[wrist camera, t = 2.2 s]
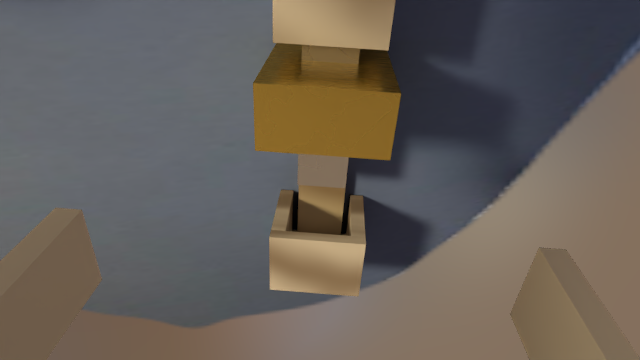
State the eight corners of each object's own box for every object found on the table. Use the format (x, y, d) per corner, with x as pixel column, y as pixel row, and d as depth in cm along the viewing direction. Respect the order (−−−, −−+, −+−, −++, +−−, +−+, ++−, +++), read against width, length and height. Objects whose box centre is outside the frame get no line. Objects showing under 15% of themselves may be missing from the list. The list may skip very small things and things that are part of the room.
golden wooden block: (277, -189, 21) (243, -245, 14) (418, -180, 21) (454, -233, 14) (276, 157, 31) (257, 222, 24) (371, 164, 31) (378, 231, 24)
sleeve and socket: (283, -184, 22) (264, -218, 16) (411, -176, 21) (432, -208, 16) (280, 237, 36) (269, 289, 31) (356, 243, 36) (358, 296, 31)
